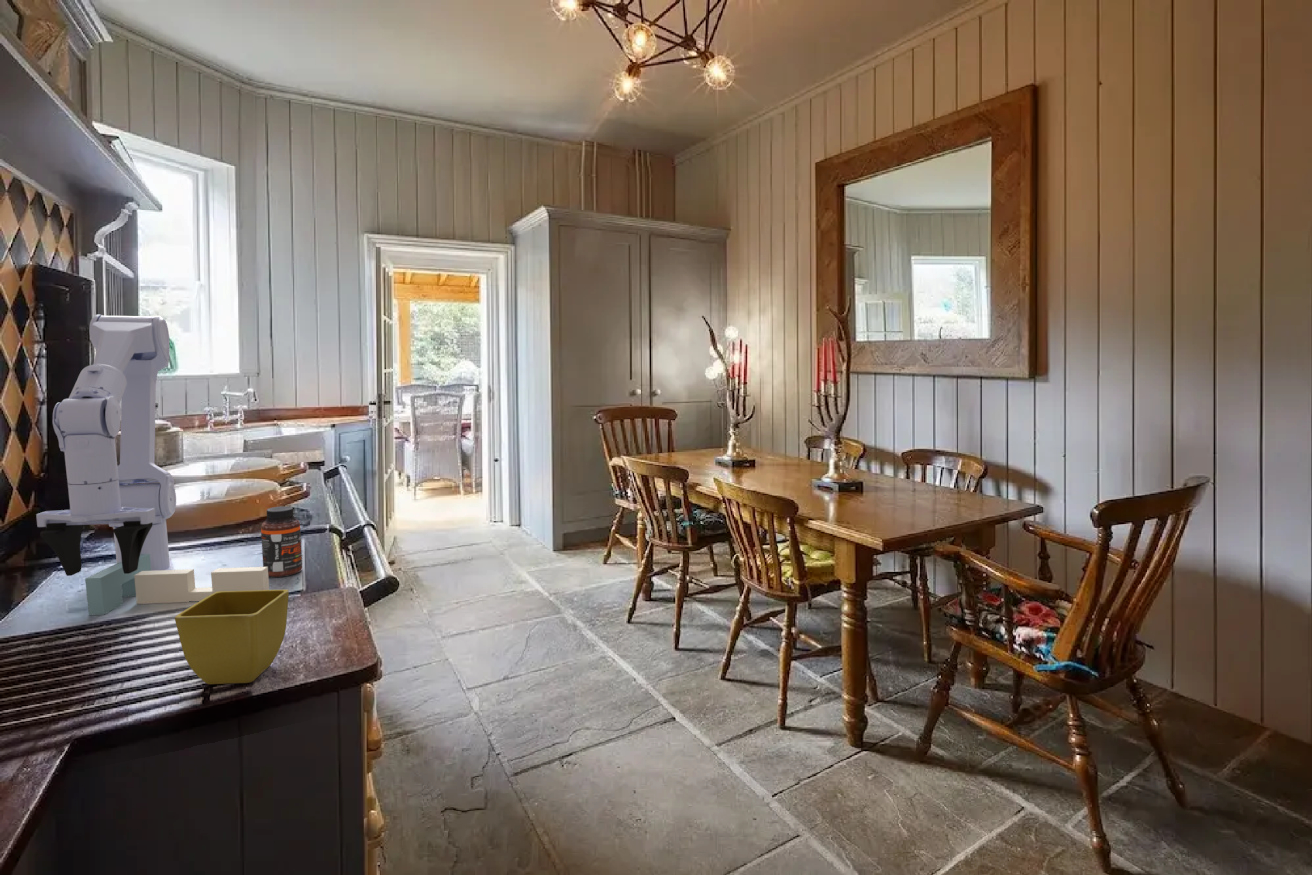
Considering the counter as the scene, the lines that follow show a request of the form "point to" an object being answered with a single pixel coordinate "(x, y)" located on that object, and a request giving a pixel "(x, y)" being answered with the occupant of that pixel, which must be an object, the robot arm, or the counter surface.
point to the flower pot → (233, 634)
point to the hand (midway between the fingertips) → (102, 572)
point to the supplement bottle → (281, 542)
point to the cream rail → (182, 584)
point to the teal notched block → (112, 586)
